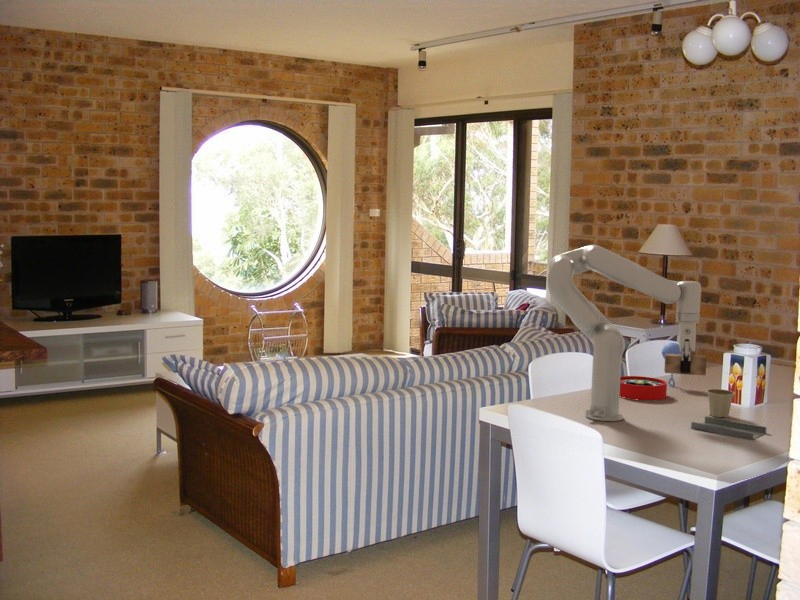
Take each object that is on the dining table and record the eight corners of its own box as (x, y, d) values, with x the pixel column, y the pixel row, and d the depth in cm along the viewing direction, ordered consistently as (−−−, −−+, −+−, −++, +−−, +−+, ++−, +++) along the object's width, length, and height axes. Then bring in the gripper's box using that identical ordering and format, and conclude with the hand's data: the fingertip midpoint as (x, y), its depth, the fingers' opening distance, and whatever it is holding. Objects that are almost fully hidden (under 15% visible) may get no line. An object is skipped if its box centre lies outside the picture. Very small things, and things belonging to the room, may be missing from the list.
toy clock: (656, 388, 326) (605, 381, 337) (655, 403, 326) (604, 396, 338) (674, 380, 342) (624, 373, 354) (673, 395, 343) (623, 388, 354)
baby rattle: (655, 384, 363) (658, 341, 361) (673, 383, 365) (676, 340, 363) (667, 388, 354) (670, 344, 353) (686, 387, 357) (688, 343, 355)
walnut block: (665, 373, 296) (665, 355, 296) (664, 370, 301) (665, 353, 300) (705, 375, 293) (706, 357, 293) (704, 373, 298) (705, 355, 297)
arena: (752, 439, 276) (752, 433, 276) (691, 428, 289) (691, 422, 289) (766, 433, 285) (766, 427, 285) (706, 422, 299) (706, 416, 298)
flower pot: (732, 414, 312) (733, 390, 311) (734, 420, 303) (736, 395, 302) (704, 411, 314) (705, 388, 313) (705, 417, 305) (707, 393, 304)
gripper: (700, 321, 286) (697, 376, 288) (698, 315, 302) (695, 367, 304) (676, 320, 288) (673, 374, 290) (675, 314, 304) (672, 366, 306)
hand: (684, 370), depth 297 cm, fingers closed on walnut block, 4 cm apart
